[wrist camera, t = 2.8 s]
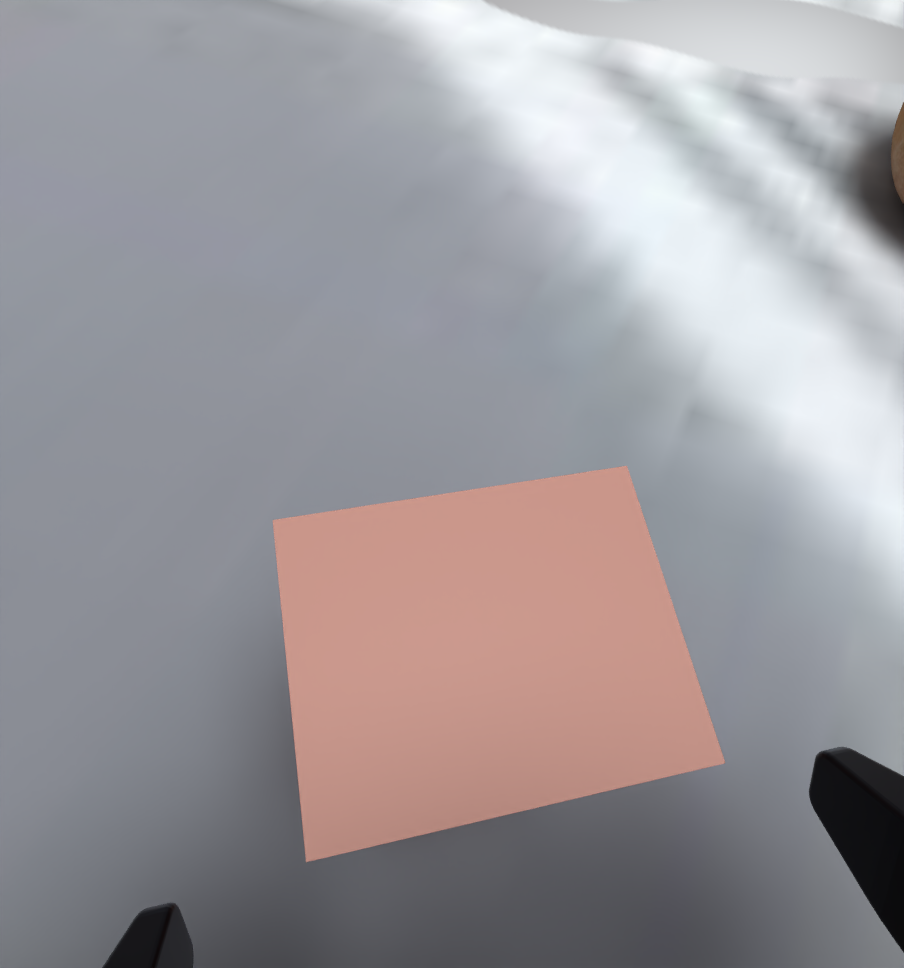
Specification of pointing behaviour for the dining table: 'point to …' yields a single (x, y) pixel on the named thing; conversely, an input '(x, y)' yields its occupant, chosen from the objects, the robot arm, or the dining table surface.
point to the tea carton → (480, 658)
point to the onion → (898, 155)
